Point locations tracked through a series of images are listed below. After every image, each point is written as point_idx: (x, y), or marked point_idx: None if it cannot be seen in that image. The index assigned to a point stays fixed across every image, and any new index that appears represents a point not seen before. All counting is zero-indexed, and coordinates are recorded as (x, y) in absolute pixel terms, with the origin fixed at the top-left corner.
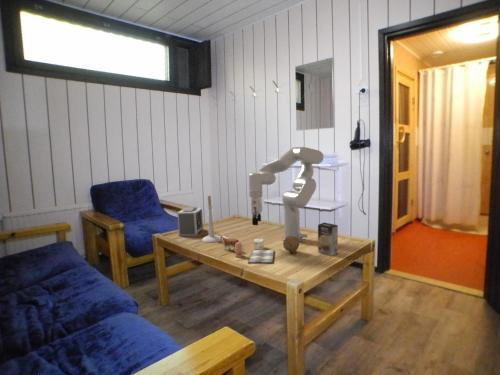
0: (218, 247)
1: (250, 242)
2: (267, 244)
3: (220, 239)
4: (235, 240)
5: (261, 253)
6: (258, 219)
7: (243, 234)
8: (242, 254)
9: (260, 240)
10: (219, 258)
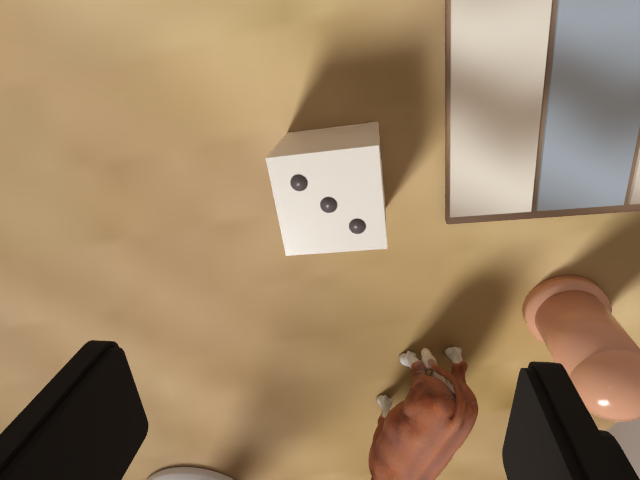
0: (354, 458)
1: (187, 277)
2: (200, 102)
3: (199, 474)
4: (467, 429)
5: (565, 104)
6: (113, 413)
7: (9, 360)
8: (583, 287)
9: (336, 180)
10: (606, 421)
